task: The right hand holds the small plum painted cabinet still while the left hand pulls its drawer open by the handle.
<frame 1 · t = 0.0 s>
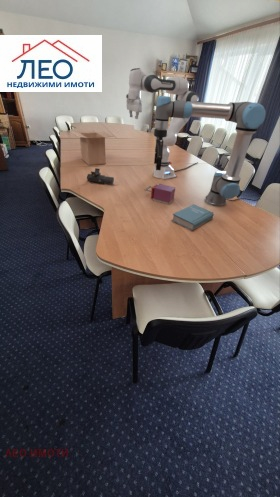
left hand: (133, 118, 170), 48 cm above the table, tool pointing down, fingers open, 8 cm apart
right hand: (157, 166, 139), 28 cm above the table, tool pointing down, fingers open, 13 cm apart
laser sight: (100, 182, 187), on the table
drawer: (157, 192, 166), point 5 cm above the table, slide at 1.2 cm
cabinet: (163, 199, 167), on the table
book: (192, 220, 143), on the table
box: (93, 161, 237), on the table
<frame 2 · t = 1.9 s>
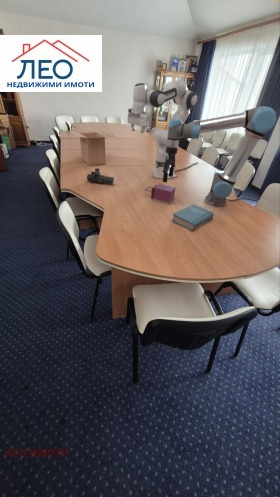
left hand: (137, 132, 168), 40 cm above the table, tool pointing down, fingers open, 8 cm apart
right hand: (167, 179, 155), 17 cm above the table, tool pointing down, fingers open, 13 cm apart
nothing on the table moved.
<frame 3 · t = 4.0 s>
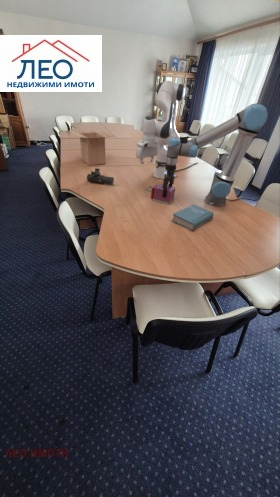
left hand: (146, 163, 164), 22 cm above the table, tool pointing down, fingers open, 8 cm apart
right hand: (166, 194, 163), 5 cm above the table, tool pointing down, fingers closed on cabinet, 10 cm apart
cabinet: (163, 199, 167), on the table, touching right hand
everything else where it was.
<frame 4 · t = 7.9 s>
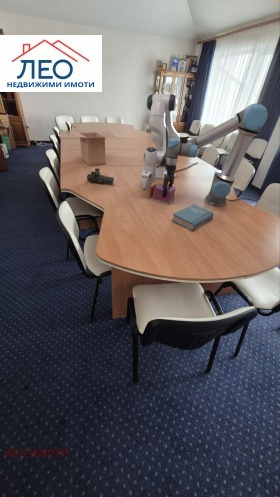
left hand: (147, 190, 169), 4 cm above the table, tool pointing down, fingers closed, pressing on drawer
right hand: (166, 194, 163), 5 cm above the table, tool pointing down, fingers closed on cabinet, 10 cm apart
drawer: (155, 191, 166), point 5 cm above the table, slide at 2.4 cm, touching left hand
cabinet: (163, 199, 167), on the table, touching right hand
everything else where it was.
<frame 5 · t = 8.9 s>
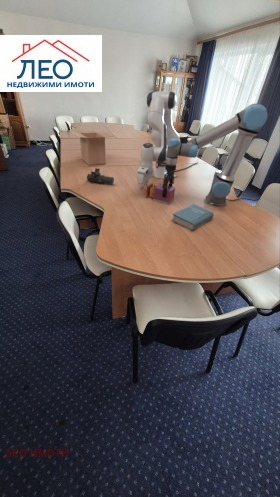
left hand: (145, 186, 169), 7 cm above the table, tool pointing down, fingers closed
right hand: (166, 194, 163), 5 cm above the table, tool pointing down, fingers closed on cabinet, 10 cm apart
drawer: (152, 190, 167), point 5 cm above the table, slide at 5.1 cm
cabinet: (163, 199, 167), on the table, touching right hand
everything else where it was.
when the right hand's fingers open (5 cm above the table, at t = 10.5 s): cabinet stays where it is, on the table.
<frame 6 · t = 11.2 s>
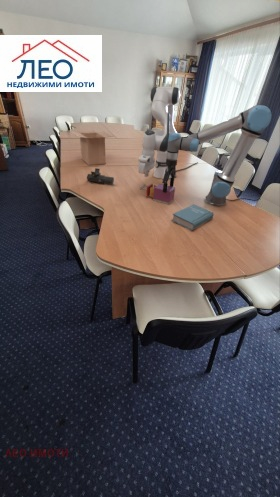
left hand: (146, 176, 163), 15 cm above the table, tool pointing down, fingers closed
right hand: (168, 189, 161), 9 cm above the table, tool pointing down, fingers open, 13 cm apart
cabinet: (163, 199, 167), on the table
everything else where it was.
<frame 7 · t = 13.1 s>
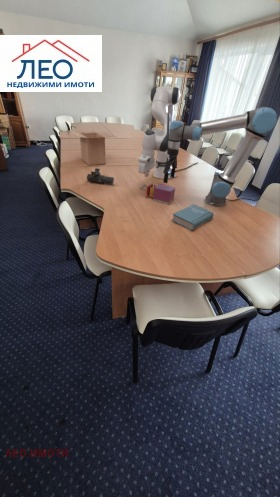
left hand: (146, 176, 163), 15 cm above the table, tool pointing down, fingers closed
right hand: (168, 180, 157), 16 cm above the table, tool pointing down, fingers open, 13 cm apart
nothing on the table moved.
at the end: drawer slide at 5.1 cm; cabinet tilted 0°; cabinet never tilted more than 1° during the clip; cabinet moved 0.1 cm from its start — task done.
